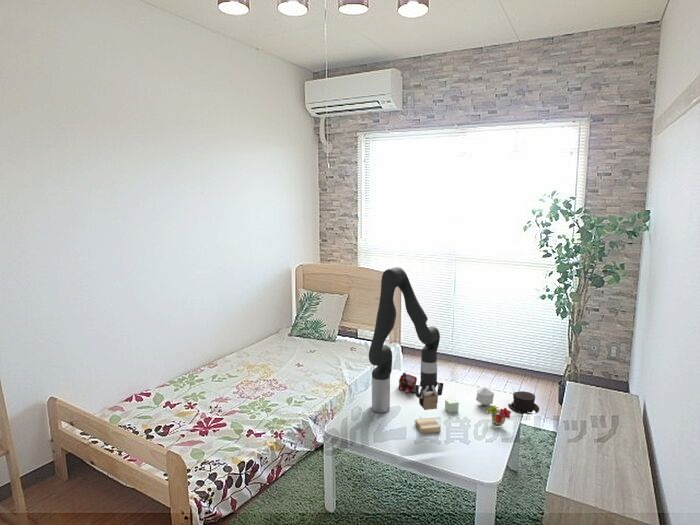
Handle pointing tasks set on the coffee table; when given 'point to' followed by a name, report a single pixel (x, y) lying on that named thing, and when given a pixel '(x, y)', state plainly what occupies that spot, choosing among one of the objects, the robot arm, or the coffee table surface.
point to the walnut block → (429, 401)
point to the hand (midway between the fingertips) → (428, 404)
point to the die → (485, 396)
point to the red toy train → (407, 383)
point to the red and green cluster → (501, 415)
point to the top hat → (524, 402)
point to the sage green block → (451, 405)
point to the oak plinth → (427, 425)
